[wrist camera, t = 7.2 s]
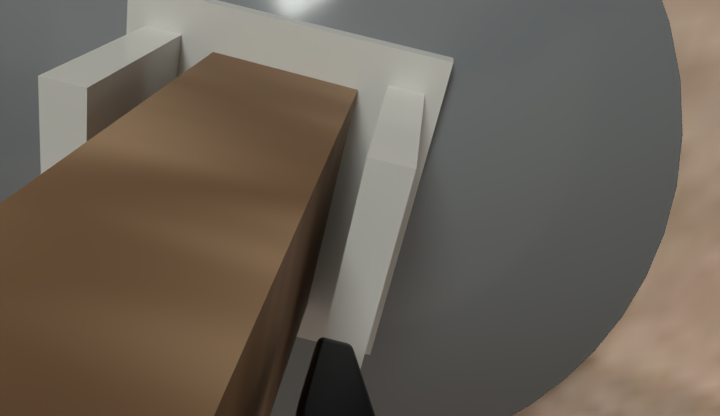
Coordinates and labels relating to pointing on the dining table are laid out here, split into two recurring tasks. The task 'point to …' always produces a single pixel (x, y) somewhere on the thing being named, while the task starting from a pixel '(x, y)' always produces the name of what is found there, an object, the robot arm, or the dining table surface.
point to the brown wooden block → (172, 250)
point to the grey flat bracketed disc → (413, 167)
